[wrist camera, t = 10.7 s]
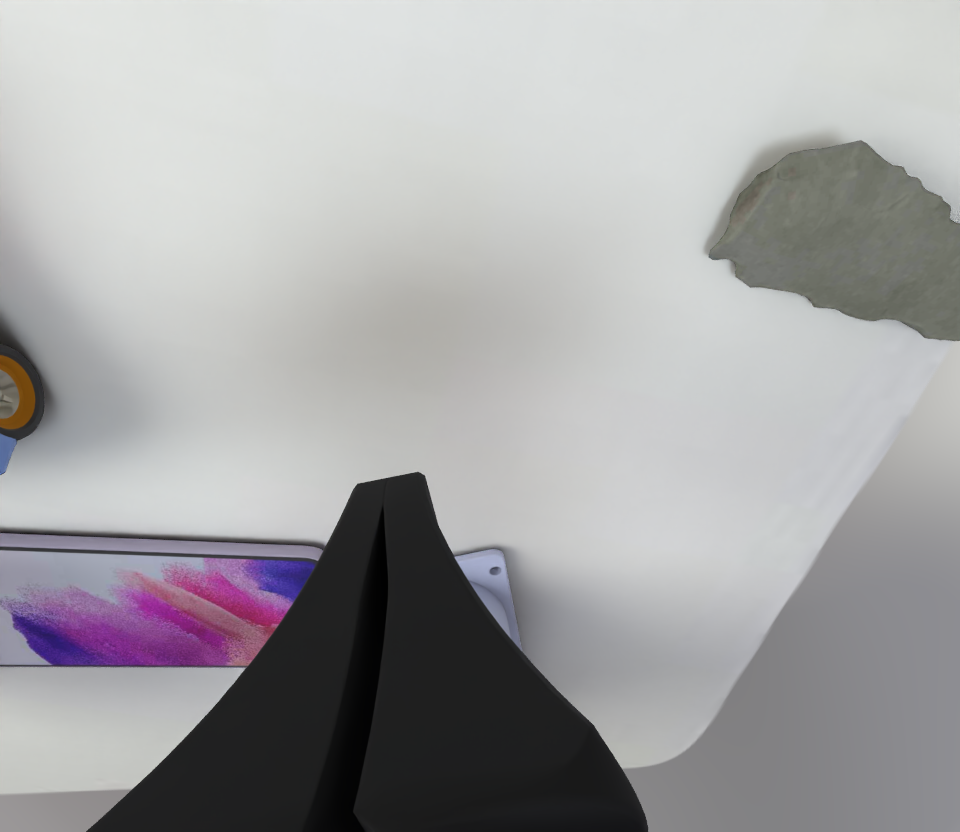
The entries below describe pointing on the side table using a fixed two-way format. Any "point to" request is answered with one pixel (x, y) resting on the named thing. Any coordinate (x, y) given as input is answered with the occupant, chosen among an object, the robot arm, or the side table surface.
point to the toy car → (17, 401)
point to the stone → (849, 239)
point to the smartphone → (143, 600)
